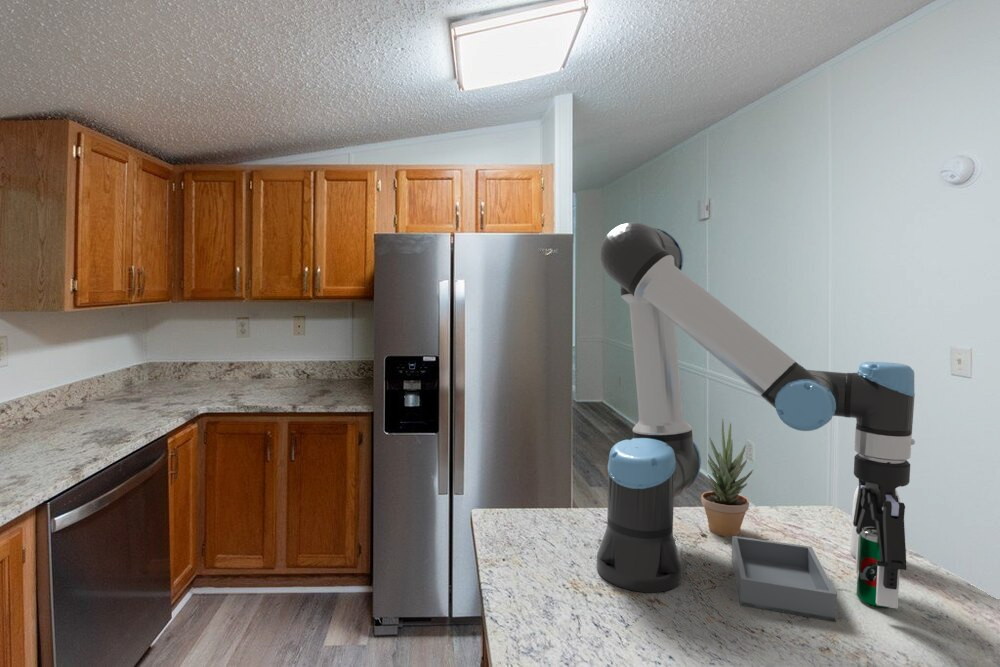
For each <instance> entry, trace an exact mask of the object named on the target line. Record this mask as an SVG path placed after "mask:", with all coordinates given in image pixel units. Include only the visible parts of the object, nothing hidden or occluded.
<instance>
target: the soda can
mask: <svg viewBox="0 0 1000 667" xmlns="http://www.w3.org/2000/svg"><path fill="white" fill-rule="evenodd" d="M862 530H863V531H862V532H861V533H860V534H859V553H858V572H857V573H856V574H857V575H856V578H857V579H856V596H857V598H858V600H860V602H862V603H863V604H865V605H867V606H869V607H871V608H876V609H882V610H885V609H889V608H890V607H886V606H880V605H877V604H876V587H877V568H878V566H876V564H875V562H877V561H880V552H879V544H878V536H877V527H863V528H862Z"/></svg>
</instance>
